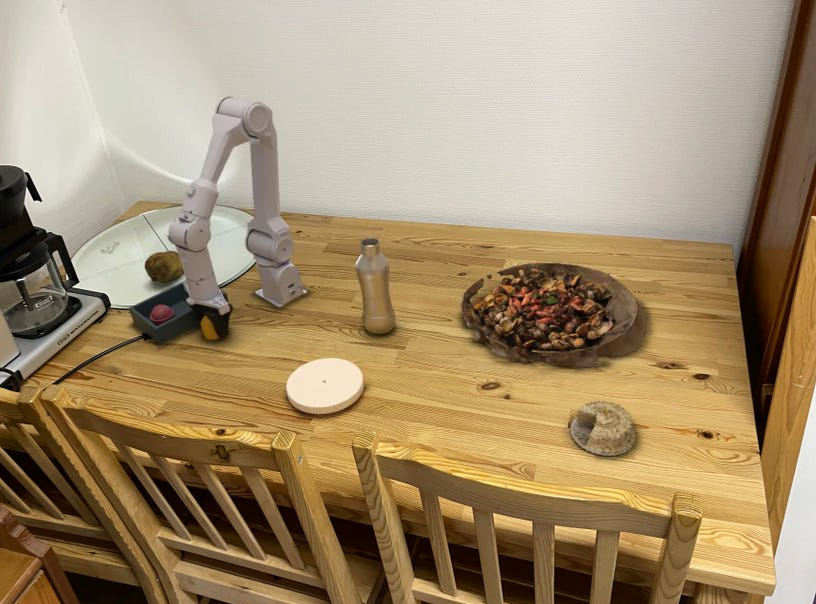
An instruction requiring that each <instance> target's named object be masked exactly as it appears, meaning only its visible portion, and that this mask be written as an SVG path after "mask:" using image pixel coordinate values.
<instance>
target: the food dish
mask: <svg viewBox="0 0 816 604" xmlns="http://www.w3.org/2000/svg"><path fill="white" fill-rule="evenodd" d="M520 271H523V274H522V275H521V273H520ZM496 274H498V275H499V276H500V277H503V276H506V277H503V278H502V280H501V283H498V284H497V287H495V288H494V289H493V291H492V293H491V294H488V295H487V296H486V297H484V299H478V300H476V301H475V303H474V304H473V303H472V301H471V299H472V298H473V297H475V296H477V295H478V293H479V291H480V290H481V289H482V288H483V287H484V285H485V284H484V283H485V280H484V277H481V278H480V279H478V281H475V282H474V283H473V284H472V285H470V287H469V288H467V289H466V291H464V292H463V296H462V301H461V303H460V310H461V314H462V315H463V316H462V317H463V318H462V319H464V321H466V326H467V327H469V328H471V329H472V330H473V332H474V334H475V338H474V341H476V342H480V343H482V344H485V345H486V346H487V347H488V348H490V349H491V353H493V354H496V355H497V356H500V357H504V358H507V359H508V360H510V361H512V362H519V363H526V364H527V363H533V362H537V363H538V362H543V363H544V364H546V365H552V366H554V367H576V368H578V369H582V368H583V369H584V368H591V367H592V368H598V367H600V366H602V367H605V366H606V364H604V363H599V362H596V361H597V360H598V358H599V357H604V356H610V357H613V358H614V357H622V356H625V355H629V354H630V353H632V352H634V351H636V350H638V349H639V348H641V346H642V342H643V337H644V335H646V334H647V333H648V330H647V316H646V314H645V311H644V309H643V307H642V306H641V303H639V301H638V300H637V299H636V297H635V295H634V294H633V293H632V292H631V291H630V289H629V288H627V286H625V285H624V284H623V283H622V282H621V281H619V280H618V279H616V278H615V277H613V276H611V275H610V274H609V273H606V272H604V271H601V270H599V269H593V268H590V267H586V266H583V265H578V264H571V263H561V262H531V263H523V264H520V265H519V264H518V265H513V266H511V267H508V268H505V269H502V270H499V271H498V272H496ZM508 276H513V278H510V277H508ZM492 277H493V275H492V274H491V273H490V274H487V275H486V278H487V279H488V280H492Z"/></svg>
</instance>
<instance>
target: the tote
mask: <svg viewBox="0 0 816 604" xmlns="http://www.w3.org/2000/svg"><path fill="white" fill-rule="evenodd" d="M184 282H186V279H185V280H184V281H181V282H178V283H177V284H175V285H173V286H171V287H168V288H167V289H165V290H162V291H160V292H159V293H156V294H155V295H152V296H150V297H149V298H145V299H144V300H142V301H140V302H138V303H136V304H134V305H131V306H130V307H128V311H129V313H130V316H131V318H132V322H133V324H134V325H135V326H136V327H138V328H139V329H140V330H141V331H143V332H144V333H145V334H146V335H148V336H149V337H150V338H151V339H152V340H154V341H155V342H156V343H157V344H159V345H160V346H161V345H164V344H165V343H167V342H169V341H172V340H173V339H175V338H177V337H178V336H181V335H183V334H184V333H187V332H188V331H191V330H192V329H194V328H196V327H198V326H201V324H200V322H199V320H198V319H197V317H196V315H195V313H194V312H193V310H192V309H191V308H190V306H189V305H188V304H187V303H186V302H185V301H184V300H183V299H184V297H186V296H188V295H189V294H188V292H186V291H185V289H184V285H183V283H184ZM219 289H220V288H219ZM220 291H221V293H222V295H223V297H224V299H225V301H226V302H227V303H230V301H229V297H228V294H227V292H226V291H224V290H222V289H220ZM158 305H166V306H168V307H169V308H170V309H172V310H173V312H174V315H176V316H177V317H175V318H173V319H171V320H169V321H167V322H165V323H163V324H161V325H159V326H156V325H154V324H153V323H152V322H151V319H150V315H151V312H152V310H153V308H154V307H156V306H158ZM211 309H212V307H210V310H211Z"/></svg>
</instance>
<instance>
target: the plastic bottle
mask: <svg viewBox="0 0 816 604" xmlns="http://www.w3.org/2000/svg"><path fill="white" fill-rule="evenodd" d="M381 251H382V248H381V242H380V239H378V238H376V237H367V238H363V239H362V240H360V242H359V253H360V255H359V256H358V258H357V260H356V262H355V268H354V269H355V274H356V277H357V280H358V284H359V287H360V291H361V297H362V315H361V318H362V319H361V320H362V324H363V326H364V329H366V330H367V332H368V333H370V334H373V335H383V334H387V333H389V332H391V331H392V330H393V328H394V327H395V325H396V317H397V316H396V313H395V309H394V307H393V303H392V300H391V299H392V298H391V295H390V263H389V260H388V259H387V258H386V257H385V254H383V253H382V252H381Z"/></svg>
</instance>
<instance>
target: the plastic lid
mask: <svg viewBox="0 0 816 604" xmlns="http://www.w3.org/2000/svg"><path fill="white" fill-rule="evenodd" d="M364 382H365V381H364V376H363V373H362V370H361V369H360V367H358V366H357V364H355V363H353V362H352V361H350V360H347V359H343V358H338V357H330V358H329V357H326V358H325V357H324V358H317V359H314V360H311V361H308V362H306V363H304V364H302V365H301V366H299V367H297V368H296V369H295V370H294V371H293V372H292V373H291V374H290V375H289V377H288V379H287V382H286V385H285V388H286V389H285V390H286V395H287V399H288V401H289V403H290V404H291V405H292V407H294V408H296V410H298V411H301V412H304V413H307V414H312V415H313V414H314V415H316V414H317V415H323V414H324V415H326V414H331V413H337V412H338V411H339V412H340V411H341V410H344V409H347V407H350V406H351V405H353V404H354V403H355V402H356V401H357V400H359V397H361V395H362V393H363V392H364V391H363V390H364V388H365V387H364V386H365V383H364Z"/></svg>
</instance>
